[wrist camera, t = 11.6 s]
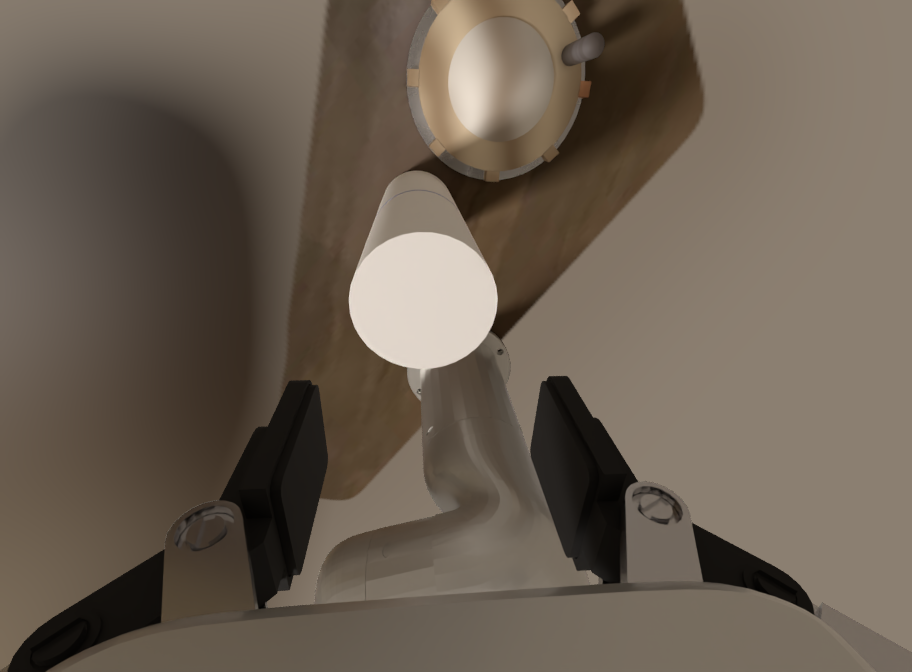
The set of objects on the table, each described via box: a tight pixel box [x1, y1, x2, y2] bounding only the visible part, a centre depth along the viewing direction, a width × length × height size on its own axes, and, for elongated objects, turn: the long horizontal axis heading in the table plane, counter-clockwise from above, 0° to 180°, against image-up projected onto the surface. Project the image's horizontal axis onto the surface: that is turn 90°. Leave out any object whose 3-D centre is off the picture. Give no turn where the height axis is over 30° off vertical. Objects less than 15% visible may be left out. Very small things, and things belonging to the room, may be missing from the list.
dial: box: [407, 0, 605, 182], centre depth 34 cm, size 15×15×6 cm
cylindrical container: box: [349, 171, 498, 369], centre depth 31 cm, size 7×7×25 cm
